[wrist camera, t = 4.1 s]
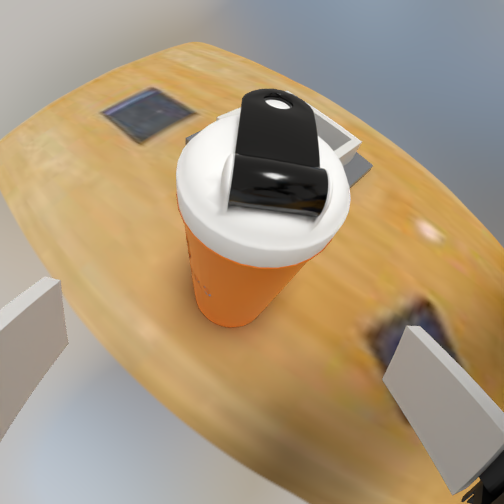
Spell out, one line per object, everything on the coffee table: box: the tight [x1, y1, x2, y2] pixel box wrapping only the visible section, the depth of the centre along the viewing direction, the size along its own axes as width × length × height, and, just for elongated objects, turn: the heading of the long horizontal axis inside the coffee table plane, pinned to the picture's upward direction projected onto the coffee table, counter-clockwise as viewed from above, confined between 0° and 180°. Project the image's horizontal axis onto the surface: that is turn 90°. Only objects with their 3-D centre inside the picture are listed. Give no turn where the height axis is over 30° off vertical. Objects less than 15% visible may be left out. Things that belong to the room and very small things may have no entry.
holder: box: [186, 91, 373, 189], centre depth 38 cm, size 20×20×5 cm
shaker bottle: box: [176, 89, 351, 327], centre depth 20 cm, size 9×9×20 cm
